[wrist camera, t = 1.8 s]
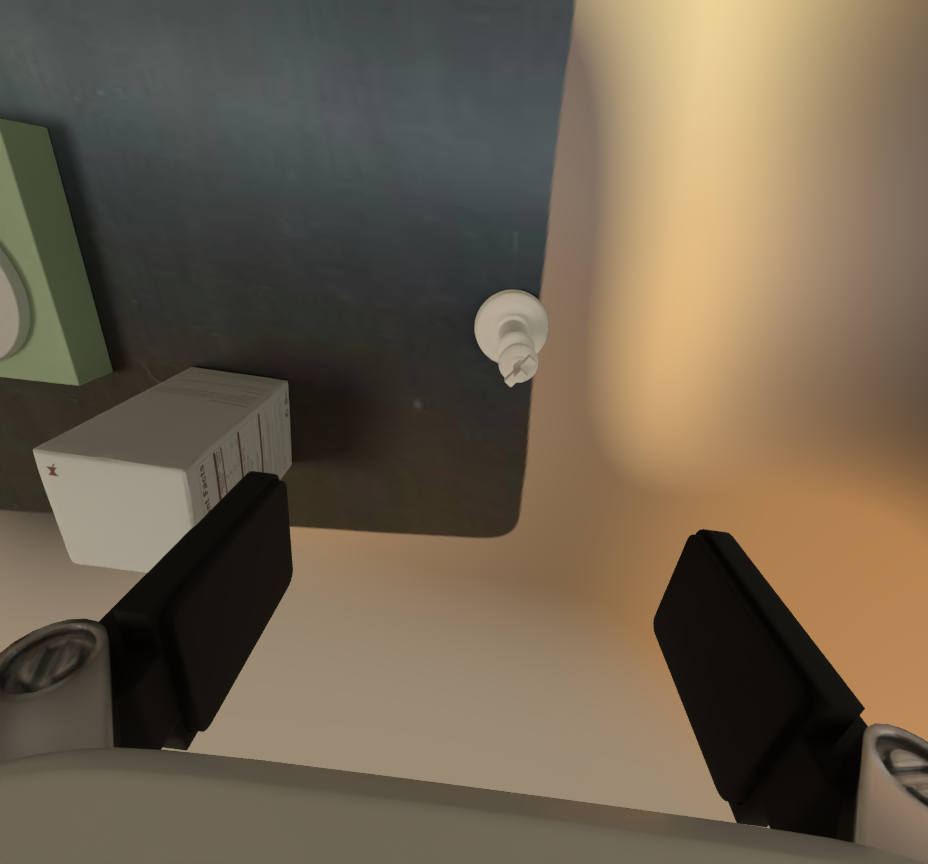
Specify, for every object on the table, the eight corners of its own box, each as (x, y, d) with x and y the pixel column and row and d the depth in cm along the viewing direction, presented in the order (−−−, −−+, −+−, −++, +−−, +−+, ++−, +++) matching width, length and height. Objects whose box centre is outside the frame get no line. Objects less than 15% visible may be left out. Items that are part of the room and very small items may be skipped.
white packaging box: (203, 452, 35) (65, 565, 23) (190, 363, 31) (23, 445, 20) (295, 466, 35) (202, 586, 24) (292, 379, 32) (182, 470, 20)
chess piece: (564, 325, 29) (597, 374, 20) (511, 377, 31) (520, 443, 22) (511, 272, 28) (521, 299, 19) (459, 329, 29) (446, 378, 20)
